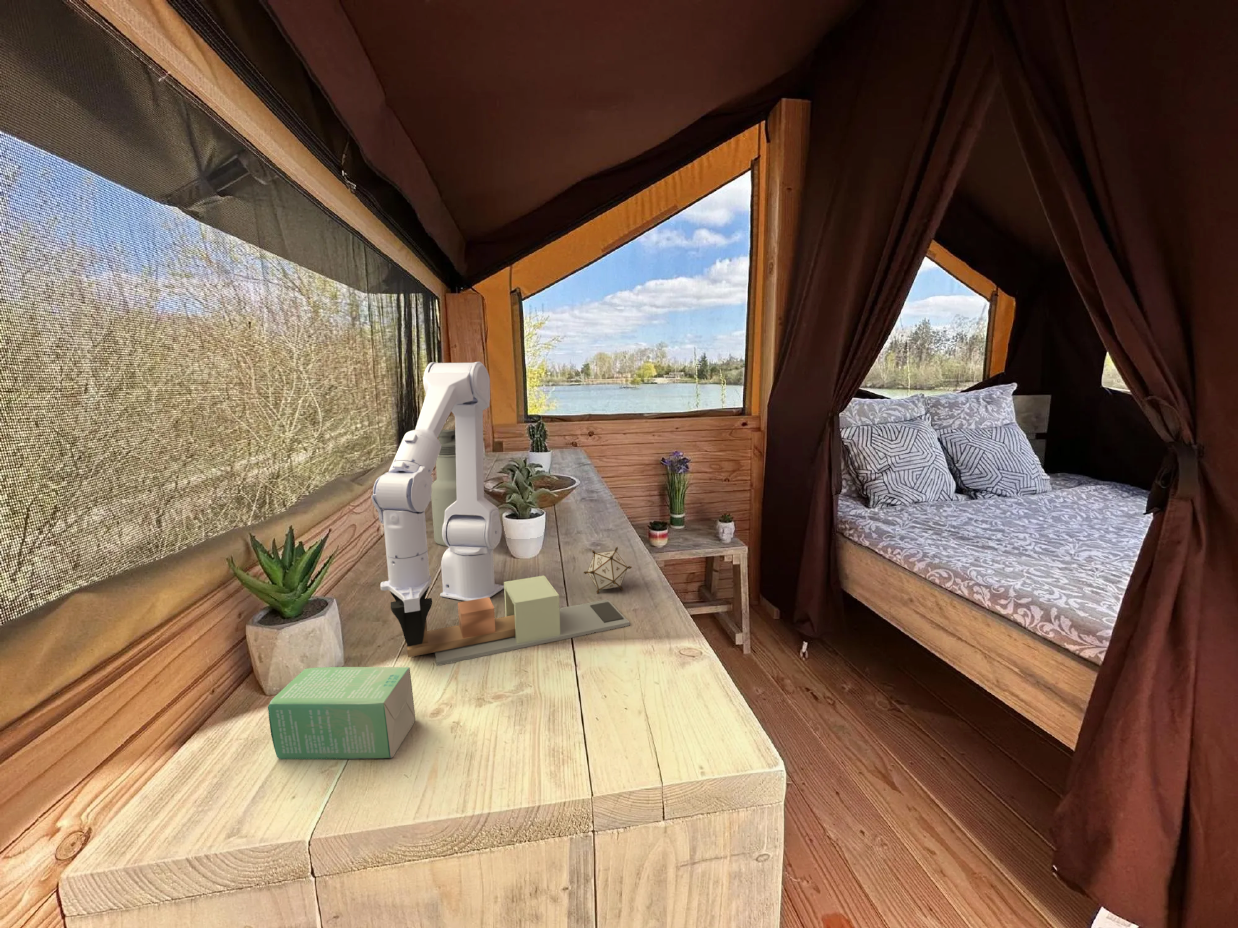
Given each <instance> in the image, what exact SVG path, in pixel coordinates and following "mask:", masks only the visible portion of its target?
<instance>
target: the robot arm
mask: <svg viewBox="0 0 1238 928" xmlns="http://www.w3.org/2000/svg"><path fill="white" fill-rule="evenodd" d="M422 382H423V389H424V391H425V397H424V400H423V403H422V408H421V410H420V413H419V416H418V419H417V422H416V426H415V429H412V430H409V431H407V432H406V433H405V434H404V436H403V438H402V439H401V442H400V443H399V446H398V449H397V452H396V454H395V456H394V458H393V461H392V462H391V465H390V467H389V469H388V472H384V474H382V475H380V476H378V477H377V478H376V480H375V481H374V484H373V488H372V495H371V496H370V497H371V502H372V505H373V506H374V508H375V509H376V511H377V513H378V521H379V522H380V523H381V524H383V533H384V542H385V543H384V544H385V554H386V556H385V557H386V565H387V576H388V580H385V581H381V582H380V591H383V592H384V591H385V592H386V591H389V592H390V594H391V596H392V597H393V598H394V600H395V601H391V602H390V610H391V612H392V614H393V615H394V616H395V618H396V619H397V621H398V622H399V624H400V627H401V631H402V634H403V638H404V640H405V643H406V646H407V645H408V646H413V645H418V644H422V642H423V638H424V630H425V622H426V621H427V618H428V614H429V612H430V609H431V608H432V605H433V599H432V597H429V598H426V596H427V594H428V591H429V588H430V586H431V584H432V577H431V575H430V563H429V552H428V551H429V550H428V541H427V539H428V538H427V527H426V526H427V525H426V524H427V523H426V513H425V511H426V510H427V508H428V506H429V504H430V503H431V494H432V483H433V482H434V481H433V480H434V478H433V476H432V473H433V471H434V468H435V467H436V461H437V458H438V455H439V453H440V450H441V444H440V442H439V434H440V432H441V430H443V429H444V426H445V424H446V422H447V420H448V418H449V416H450V414H451V413H452V414H453V416H454V425H455V429H454V430H455V436H456V487H457V500H456V501H455V502H454V503H453V504H451V505H450V506H449V507H448V508H447V509H446V510H445V517H444V523H443V527H442V537H443V540H444V542H445V544H446V545H447V546H446V547H448V548H446V550H445V551H444V553H443V555H442V557H441V562H440V568H441V581H442V582H441V583H442V592H440V594H439V596H440V597H443V598H448V599H449V598H450V599H454V600H459V601H463V602H464V601H469V600H475V599H481V598H487V597H489V598H490V599H491V598H492V597H493V596H494V595H496V594H497V593H499V592H501V591H502V590H504V584H497V583H495V581H496V580H495V566H494V549H496V548H497V547H498V545H499V544H500V542H501V539H502V530H503V528H502V522H501V518H500V511H499V508H498V507H497V506H496V505H495V504H493V503H492V502H491V501H489V500H488V499H487V498H486V497H485V483H484V482H485V480H484V478H485V477H484V475H485V474H484V473H485V472H484V427H483V426H484V412H483V411H486V410H487V409H488V408H490V405H491V403H490V401H491V378H490V374H489V371H488V369H487V368H486V365H484V364H483V363H482V361H475V362H436V361H432V362H429V363H428V364H427V366H426V368H425V369H424V372H423V377H422Z"/></svg>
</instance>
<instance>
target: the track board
mask: <svg viewBox="0 0 1238 928" xmlns="http://www.w3.org/2000/svg"><path fill="white" fill-rule="evenodd" d="M605 602H609V603H610V604H611V605H612V606H613V607H614V608H615V609H616V611H617V612H618V613H619V614H620V615H621V616H622V617H623V619H621V620H616V621H611V622H606V623H604V622H603V621H602V620H601V618H600V617H599V616H598V615H597V614H596V612H595V611H594V610H593V609H592V608H591V607H590V605H594V604H599V603H605ZM559 608H560V635H558V636H553V637H548V638H543V639H538V640H533V641H528V642H523V643H518V644H517V642H516V636H513V637H508V638H503V639H498V640H493V641H488V642H483V643H478V644H473V645H468V646H463V647H458V648H453V649H448V650H442V651H437V652H434V655H435V663H436V666H441V665H447V664H451V663H452V664H453V663H456V662H460V661H465V660H470V659H471V660H472V659H475V658H481V657H486V656H490V655H495V654H500V653H504V652H509V651H515V650H517V649H518V650H519V649H520V650H521V649H523V648H529V647H534V646H538V645H543V644H548V643H553V642H556V641H562V640H566V639H567V640H569V639H571V638H577V637H582V636H586V634H587V635H591V633H592V634H595V633H594V632H596V633H600V632H605V631H610V629H611V630H615V628H616V629H620V628H624V626H625V627H630V626H629V625H630V624H631V623H630V621H629V620H628V619H627V618H626V617H625V615H624V614H622V612H621V611H620V610H619V609H618V608H617V607H616V606H615V605H614V604H613V603H612V602H611V601H610V600H609V599H601V600H596V601H591V602H587V603H586V602H585V603H579V604H575V605H569V606H564V607H559Z"/></svg>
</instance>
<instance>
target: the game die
mask: <svg viewBox="0 0 1238 928" xmlns="http://www.w3.org/2000/svg"><path fill="white" fill-rule="evenodd" d="M618 550H619V548H618V546H617V547H615V549H614V550H610V551H600V552H596V551H595V550H594V549H591V552H592V554H593V555H592V559H591V561H590V564H589V566H588V569H587V570H585V571H583V574H585V575H586V574H588V576H589V577H590V579H591V580H592V582H593V584H594V585H595V587H596V589H597V590H596V592H595V593H596V594H600V591H602V590H609V589H617V588H619V590H621V591H624V589H623V586H622V583H623V581H624V579H625V576H626V573H627V571H628V570H629V569H632V568H633V567H632V566H631V565H628V566H627V564H626V562H625V561H624V560H623V559H622V557H621V556H620V554H619V552H618Z"/></svg>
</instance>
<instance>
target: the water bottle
mask: <svg viewBox="0 0 1238 928" xmlns="http://www.w3.org/2000/svg"><path fill="white" fill-rule="evenodd" d="M438 440H439V442H440V444H441V450H440V453H439V455H438V458H437V461H436V463H435V470H436V480H434V481H433V482H432V494H431V500H430V502H431V513H432V515H431V516H432V524H433V526H432V528H433V540H434V542H435V543H436V544H437V545H440V546H444V547H445V546H446V547H448V546H447V545H446V544H445V542H444V540H443V537H442V527H443V523H444V517H445V510H446V509H447V508H448V507H449V506H450V505H451V504H453V503H454V502H455V501H456V500H457V487H456V436H455V429H448V428H447V429H444V428H443V429H442V430H441V432H440V434H439V436H438Z"/></svg>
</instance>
